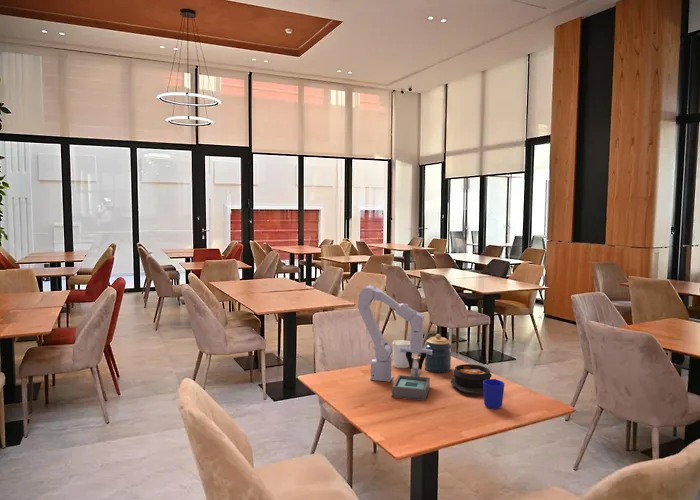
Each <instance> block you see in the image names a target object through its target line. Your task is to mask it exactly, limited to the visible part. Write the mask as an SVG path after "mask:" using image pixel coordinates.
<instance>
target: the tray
mask: <svg viewBox="0 0 700 500" xmlns="http://www.w3.org/2000/svg"><path fill="white" fill-rule="evenodd" d="M430 379H431V378H430V377H427V376H426V377H425V376H420V377H417V376H411V375H405V374H398V375H397V376H396V378H395V380H394V382H393V384H392V386H391V390H392V391H391V397H392V398H398V399H406V400H417V401H426V400H427V397H428V394H429V391H430V388H431V387H430V385H431V384H430V381H431V380H430Z"/></svg>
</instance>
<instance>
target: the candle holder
mask: <svg viewBox="0 0 700 500" xmlns="http://www.w3.org/2000/svg"><path fill="white" fill-rule="evenodd" d="M391 344H392V361H393V367H394V368H397V369H407V368H410V367H409V363H408V360H407V358H406V355H405V354H406V352H402V353H401V352H400V348H401V347H410V340H405V339H397V340H393V341H392V342H391Z"/></svg>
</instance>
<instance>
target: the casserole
mask: <svg viewBox="0 0 700 500" xmlns="http://www.w3.org/2000/svg"><path fill="white" fill-rule="evenodd" d="M452 374H453V377H452V378H451V380H450V384H451V385H452V386H454V387H456V388H457V389H458V390H459V392H464V393H467V394H468V393H469V394H484V391H483V381H484V380H487V379H491V378H492V376H493V375H492V373H491V371H490V369H489V368H487V367H485V366H483V365H481V364H480V365H479V364H471V363H470V364H469V363H465V364H459V365H456V366H455V367H454V369H453V371H452Z"/></svg>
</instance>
